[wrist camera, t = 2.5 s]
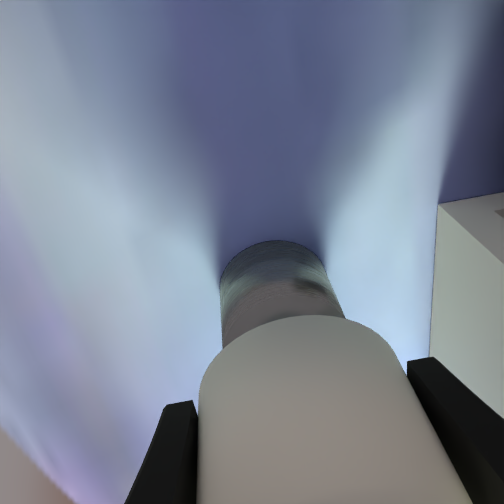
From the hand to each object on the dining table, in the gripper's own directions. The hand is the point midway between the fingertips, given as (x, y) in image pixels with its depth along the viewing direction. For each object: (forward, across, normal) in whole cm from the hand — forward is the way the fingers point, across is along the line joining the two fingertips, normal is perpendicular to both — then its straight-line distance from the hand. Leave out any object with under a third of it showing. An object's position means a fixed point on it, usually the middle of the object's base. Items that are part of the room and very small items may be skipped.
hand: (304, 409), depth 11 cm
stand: (+5, 0, 0) cm, 5 cm away
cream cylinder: (0, 0, 0) cm, 0 cm away
